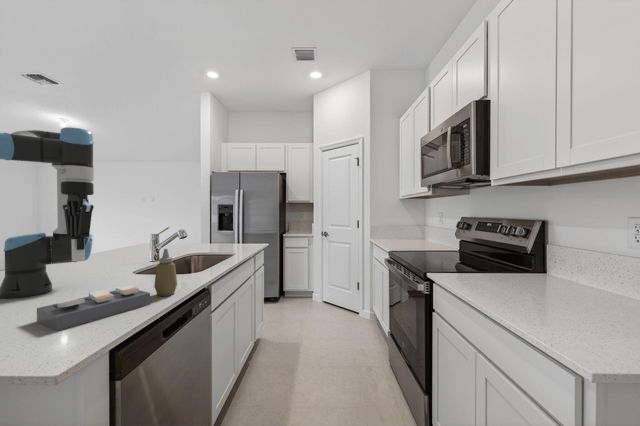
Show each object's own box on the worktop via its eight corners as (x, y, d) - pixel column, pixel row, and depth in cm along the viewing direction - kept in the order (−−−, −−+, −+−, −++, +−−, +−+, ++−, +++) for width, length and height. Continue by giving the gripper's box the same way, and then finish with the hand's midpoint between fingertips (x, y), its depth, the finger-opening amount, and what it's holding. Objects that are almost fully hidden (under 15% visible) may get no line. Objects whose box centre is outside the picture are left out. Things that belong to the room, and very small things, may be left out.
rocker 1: (57, 307, 88) (57, 303, 88) (75, 303, 91) (75, 299, 92) (66, 306, 85) (66, 302, 85) (84, 302, 89) (84, 298, 89)
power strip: (28, 317, 91) (27, 302, 91) (118, 295, 114) (118, 283, 114) (57, 331, 81) (57, 314, 81) (150, 304, 104) (150, 291, 104)
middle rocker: (88, 296, 95) (88, 292, 94) (103, 292, 99) (104, 289, 98) (97, 302, 92) (98, 299, 92) (113, 299, 96) (113, 295, 96)
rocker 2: (115, 291, 102) (115, 287, 102) (129, 288, 106) (129, 284, 105) (125, 295, 99) (125, 291, 99) (138, 291, 103) (138, 288, 103)
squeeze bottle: (167, 298, 111) (167, 250, 111) (149, 296, 113) (149, 250, 112) (181, 292, 119) (181, 247, 119) (164, 290, 121) (164, 247, 120)
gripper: (51, 181, 87) (52, 260, 87) (73, 179, 81) (74, 264, 81) (81, 183, 94) (82, 256, 94) (103, 181, 88) (104, 260, 88)
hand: (78, 260), depth 88 cm, fingers closed
